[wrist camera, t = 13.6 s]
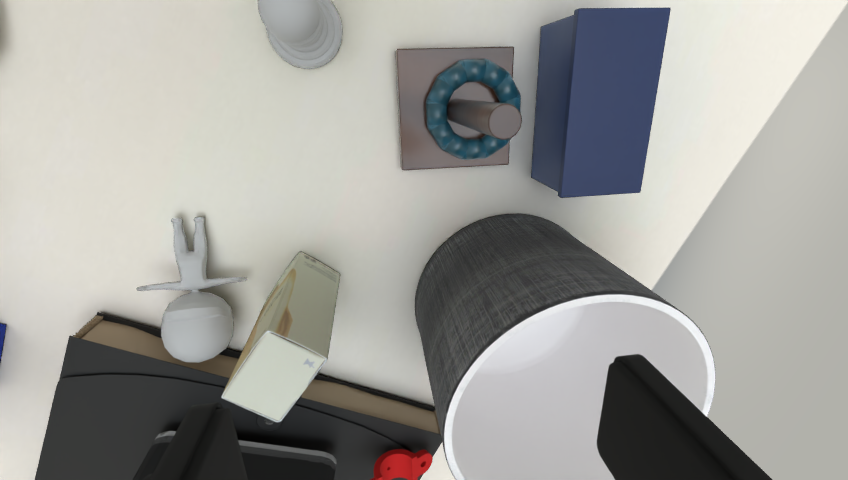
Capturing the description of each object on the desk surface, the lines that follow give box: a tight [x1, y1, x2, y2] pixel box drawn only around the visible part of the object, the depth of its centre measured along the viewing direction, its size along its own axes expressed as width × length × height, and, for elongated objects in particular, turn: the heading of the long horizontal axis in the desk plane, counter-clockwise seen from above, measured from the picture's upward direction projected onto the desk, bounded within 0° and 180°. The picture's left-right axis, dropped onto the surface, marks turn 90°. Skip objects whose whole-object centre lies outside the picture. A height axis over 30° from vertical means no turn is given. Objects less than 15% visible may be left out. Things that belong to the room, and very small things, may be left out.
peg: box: [396, 47, 522, 170], centre depth 27 cm, size 9×9×13 cm
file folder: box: [35, 312, 442, 480], centre depth 40 cm, size 33×4×24 cm
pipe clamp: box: [370, 449, 432, 480], centre depth 38 cm, size 8×3×2 cm, turn 87°
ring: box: [426, 59, 521, 160], centre depth 31 cm, size 7×7×2 cm
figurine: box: [137, 217, 247, 363], centre depth 33 cm, size 8×5×12 cm
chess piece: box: [258, 0, 342, 69], centre depth 25 cm, size 5×5×9 cm
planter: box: [415, 214, 715, 480], centre depth 33 cm, size 18×18×16 cm
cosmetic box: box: [221, 252, 340, 422], centre depth 31 cm, size 6×4×12 cm
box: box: [531, 8, 670, 198], centre depth 31 cm, size 12×6×6 cm, turn 2°
